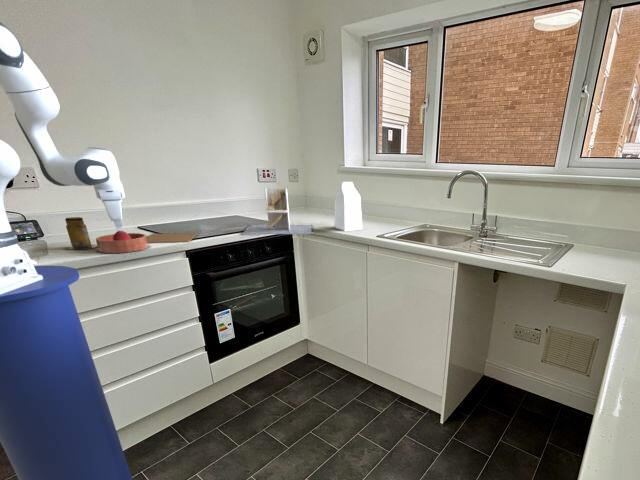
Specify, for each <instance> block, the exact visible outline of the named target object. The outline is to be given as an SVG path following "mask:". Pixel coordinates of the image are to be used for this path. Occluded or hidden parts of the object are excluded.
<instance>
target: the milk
mask: <svg viewBox="0 0 640 480" xmlns="http://www.w3.org/2000/svg"><path fill="white" fill-rule="evenodd" d="M340 185H341V186H340V188H339V189H338V190H337V191H336V193H335V195H334V229H337V230H341V231H345V232H346V231H347V232H348V231H356V230H357V231H358V230H363V218H362V217H363V215H362V201H361V195H360V194H359V192H358V190H357V189H356V188H355V185H354V183H353V181H342V182H341V184H340Z"/></svg>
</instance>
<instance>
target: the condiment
mask: <svg viewBox="0 0 640 480" xmlns="http://www.w3.org/2000/svg"><path fill="white" fill-rule="evenodd" d="M64 221H65V224H66V225H65V227H66V231H67V234H68V238H69V242H70V244H71V246H69V247H67V249H69V250H90V249H94V248H98V245H97V244H96V245H93V244H92V243H91V238H90V235H89V231H88V228H87V225H86V224H85V222H84V218H83V217H82V216H81V217H80V216H73V217H72V216H71V217H65V219H64Z"/></svg>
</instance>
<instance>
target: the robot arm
mask: <svg viewBox="0 0 640 480" xmlns="http://www.w3.org/2000/svg"><path fill="white" fill-rule="evenodd" d="M33 61H34V60H32V59H31V58H30V56H29V55H28V54H27V53H26V52H25V51H24V50H23V47H22V44H21V43H20V40H19V39H18V37H17V36H16V35H15V34H14V32H13V31H12V30H11V29H9V28H8V26H6V25H5V24H4V23H2V22H1V21H0V86H1V88H2V90H3V92H4V93H5V94H6V95H7V97H8V99H9V101H10V103H11V104H12V106H13V109H14V117H15V119H16V122H17V125H18V126H19V128H20V130H21V132H22V134H23V135H24V137H25V139H26V141H27V143H28V144H29V146H30V147H31V150H32V151H33V153H34V155H35V157H36V159H37V161H38V164H39V168H40V171H41V173H42V175H43V177H45V179H46V180H47V181H48V182H49V183H51V184H53V185H55V186H58V187H70V186H77V187H92V186H93V188H94V192H95V196H96V198H97V199H99V200H100V201H101V202H102V203H103V206H104V207H105V211H106V213H107V215H108V217H109V219H110V221H111V222H112V221H113V223H114V225H115V229H116V232H118V231H123V224H122V221H123V209H122V203H123V202H124V201H123V199H124V198H126V193H125V190H124V186H123V183H122V181H121V180H120V175H121V174H120V170H119V167H118V163H117V160H116V157H115V156H114V154H113V153H112V151H110V150H108V149H105V148H101V147H86V149H85V151H83V153H81V154H79V155H76V156H73V157H69V156H63V155H62V154H61V153H60V152H59V151H58V150H57V148H56V145H55V143H54V142H53V139H52V138H51V136H50V134H49V133H48V129H47V126H48V123H49V122H51V121H53V120H54V119H55V118H56V117H57V116H58V115H59V112H60V109H61V106H60V105H61V104H60V102H59V100H58V97H57V95H56V93H55V92H54V91H53V90H54V89H52V87H51V85H50V83H49V82H48V81H47V79H46V78H45V76H44V74H43V73H42V72H41V70H40V69H39V68H38V66H37V65H36V64H35V62H33ZM20 170H21V160H20V156H19V155H18V153H17V152H16V150H15V149H14V148H13V147H12V146H11V145H9V144H8V142H6V141H4V140H2V139H0V294H3V293H6V292H9V291H11V290H14V289H17V288H20V287H22V286H25V285H28V284H31V283H33V282H36V281H39V280H42V279H43V277H42V275H38V274H37V273H36V270H35V268H34V266H35V265H37V261H35V260H33V259H31V258H30V256H29V254H28V252H27V251H25V250H24V249H22V248H21V246H19V244H18V243H19V239H18V236H17V234H16V232H15V230H13V229H12V226H11V225H10V222H9V218H8V215H7V212H6V208H5V203H4V195H5V191H6V188H7V186H8V184H9V182H11V181H12V180H13V179H14V178H15V177H16V176H17V175H18V174H19V173H20ZM34 264H35V265H34Z"/></svg>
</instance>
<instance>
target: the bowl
mask: <svg viewBox="0 0 640 480" xmlns="http://www.w3.org/2000/svg"><path fill="white" fill-rule="evenodd" d="M126 233H127V234H128V235H129V236H130V237H131V239H130V240H119V241H113V236H114V234H115V233H113V234H107V235H105V234H104V235H101V236H98V237H96V238H95V241H96V245H97V246H98V247H97V249H98V251H99V252H100V253H106V254H123V253H131V252H132V253H133V252H137V251H141V250H145V249H147V248H149V243H147V238H146V237H147V234H144V233H139V232H126Z"/></svg>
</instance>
